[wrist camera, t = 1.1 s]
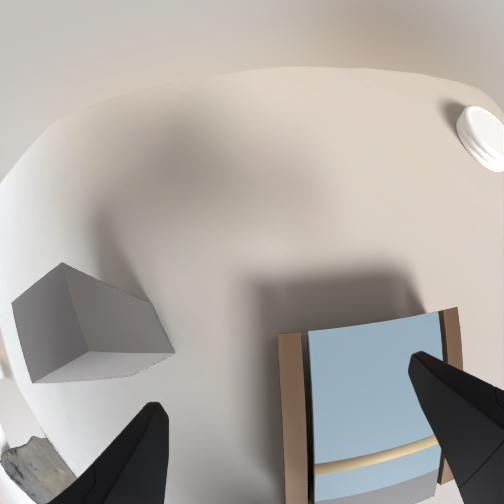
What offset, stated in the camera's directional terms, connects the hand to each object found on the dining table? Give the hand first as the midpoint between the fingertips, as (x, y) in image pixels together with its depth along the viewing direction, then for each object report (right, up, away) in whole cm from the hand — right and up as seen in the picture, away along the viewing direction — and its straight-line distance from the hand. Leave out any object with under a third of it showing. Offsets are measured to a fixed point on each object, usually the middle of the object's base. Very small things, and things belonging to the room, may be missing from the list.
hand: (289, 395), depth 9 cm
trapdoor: (+8, -9, +9) cm, 15 cm away
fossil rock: (-25, -25, +9) cm, 37 cm away
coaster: (+31, +20, +20) cm, 42 cm away
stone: (-11, -3, +15) cm, 19 cm away
